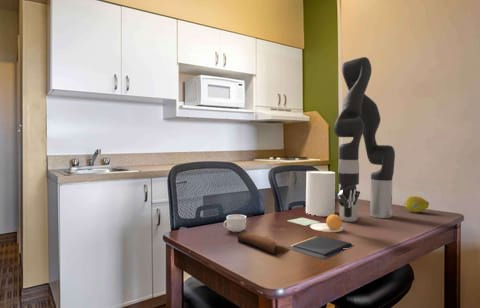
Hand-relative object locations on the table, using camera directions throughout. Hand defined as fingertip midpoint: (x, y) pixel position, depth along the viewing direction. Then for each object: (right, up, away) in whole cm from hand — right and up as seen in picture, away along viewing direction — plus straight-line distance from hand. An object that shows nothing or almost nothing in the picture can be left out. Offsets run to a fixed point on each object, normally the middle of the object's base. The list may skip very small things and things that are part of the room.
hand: (347, 216), depth 124 cm
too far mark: (-14, -5, +17) cm, 22 cm away
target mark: (-6, -6, +7) cm, 11 cm away
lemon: (+47, -5, +39) cm, 61 cm away
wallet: (-15, -8, -17) cm, 23 cm away
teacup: (-43, -6, +1) cm, 44 cm away
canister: (-2, -5, +35) cm, 35 cm away
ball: (-4, -3, +4) cm, 7 cm away
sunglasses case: (-33, -7, -17) cm, 38 cm away
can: (+7, -6, +20) cm, 22 cm away
